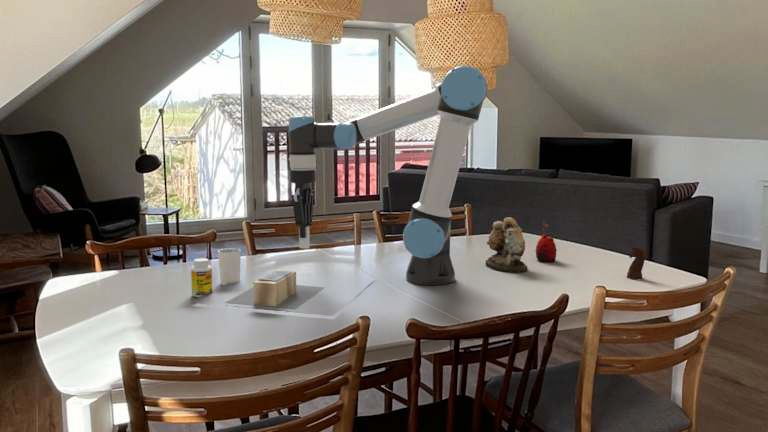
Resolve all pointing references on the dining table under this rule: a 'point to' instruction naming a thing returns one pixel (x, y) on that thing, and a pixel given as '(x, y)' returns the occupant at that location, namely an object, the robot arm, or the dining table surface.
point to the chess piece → (636, 263)
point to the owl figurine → (506, 247)
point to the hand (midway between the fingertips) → (304, 247)
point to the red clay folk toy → (546, 248)
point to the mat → (290, 303)
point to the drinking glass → (229, 265)
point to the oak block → (274, 287)
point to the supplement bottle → (201, 277)
